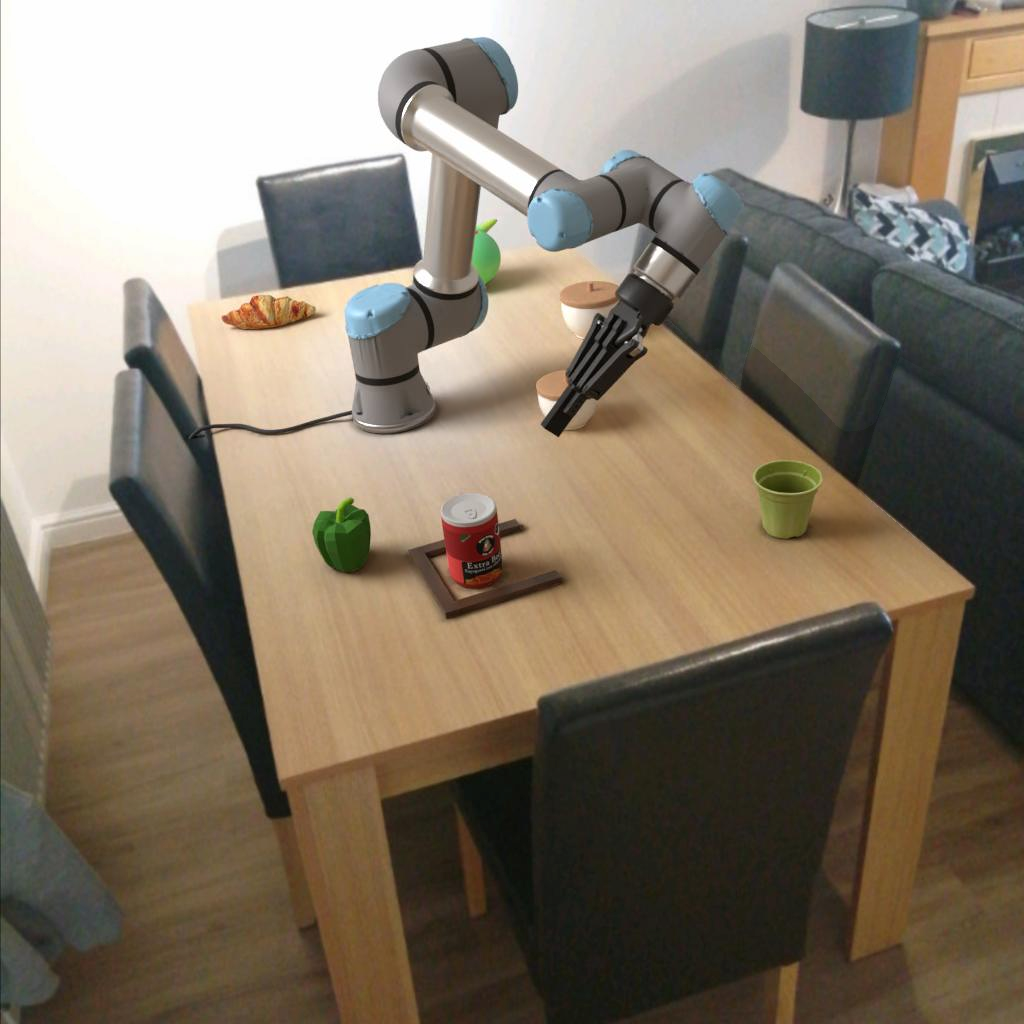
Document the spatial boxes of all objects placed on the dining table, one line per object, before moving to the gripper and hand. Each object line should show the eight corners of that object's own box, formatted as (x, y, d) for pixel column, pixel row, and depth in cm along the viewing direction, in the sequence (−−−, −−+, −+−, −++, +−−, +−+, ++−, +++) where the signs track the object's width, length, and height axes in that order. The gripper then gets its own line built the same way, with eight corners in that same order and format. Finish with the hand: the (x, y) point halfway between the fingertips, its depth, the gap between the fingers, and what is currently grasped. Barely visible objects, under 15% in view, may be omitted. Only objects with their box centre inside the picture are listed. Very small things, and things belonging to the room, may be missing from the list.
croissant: (319, 325, 243) (313, 291, 243) (316, 319, 233) (311, 284, 233) (227, 337, 241) (221, 302, 240) (221, 332, 231) (215, 296, 230)
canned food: (468, 596, 142) (459, 529, 136) (439, 570, 148) (429, 505, 142) (514, 575, 145) (507, 509, 140) (484, 550, 151) (476, 486, 145)
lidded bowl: (633, 326, 218) (632, 275, 212) (604, 349, 209) (602, 296, 203) (580, 318, 224) (578, 269, 218) (551, 340, 215) (547, 289, 209)
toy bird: (421, 300, 242) (412, 238, 234) (437, 275, 256) (429, 215, 248) (496, 298, 239) (490, 235, 231) (509, 273, 253) (503, 213, 245)
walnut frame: (515, 524, 157) (515, 518, 156) (562, 582, 143) (561, 576, 142) (408, 555, 152) (407, 549, 151) (446, 619, 138) (445, 613, 138)
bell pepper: (328, 585, 147) (315, 526, 142) (314, 557, 154) (301, 499, 148) (384, 568, 150) (374, 509, 144) (368, 541, 156) (357, 483, 151)
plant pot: (805, 552, 144) (810, 499, 139) (741, 536, 149) (743, 484, 144) (827, 519, 151) (831, 467, 146) (764, 505, 155) (767, 454, 151)
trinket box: (595, 437, 178) (593, 387, 173) (534, 436, 180) (530, 386, 175) (603, 408, 187) (601, 360, 182) (544, 408, 189) (541, 360, 184)
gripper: (695, 315, 134) (587, 462, 138) (651, 288, 144) (552, 425, 149) (656, 285, 130) (545, 437, 135) (613, 259, 141) (513, 400, 145)
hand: (549, 430), depth 142 cm, fingers closed
